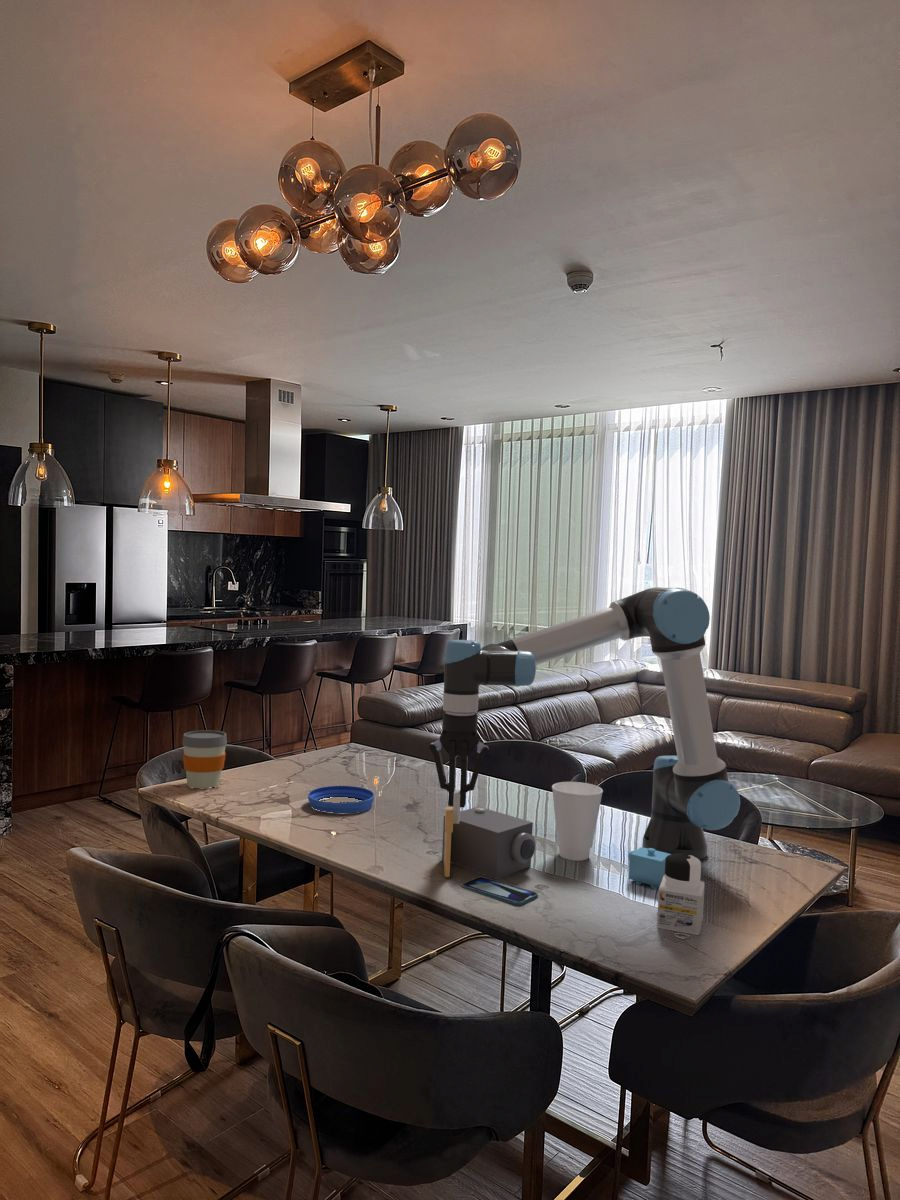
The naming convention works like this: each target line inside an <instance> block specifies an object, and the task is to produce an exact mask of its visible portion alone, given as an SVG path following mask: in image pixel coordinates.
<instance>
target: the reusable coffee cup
mask: <svg viewBox="0 0 900 1200" xmlns="http://www.w3.org/2000/svg"><path fill="white" fill-rule="evenodd" d="M227 737H228V736H227V733H226V732H224V731H220V730H210V729H209V730H208V729H206V730H192V731H187V732H184V734H183V738H182V746H183V753H182V759H183V769H184V770H185V774H186V783H187V784H186V785H188V786H189V787H193V788H209V787H215V786H218V785H219V786H220V781H221V777H222V776H221V775H222V770H223V769H224V767H225V761H226V755H227V754H226V747H227V744H228V740H227ZM188 786H187V787H188ZM219 786H218V787H219ZM189 787H188V788H189ZM193 788H192V789H193ZM215 788H216V787H215Z"/></svg>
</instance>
